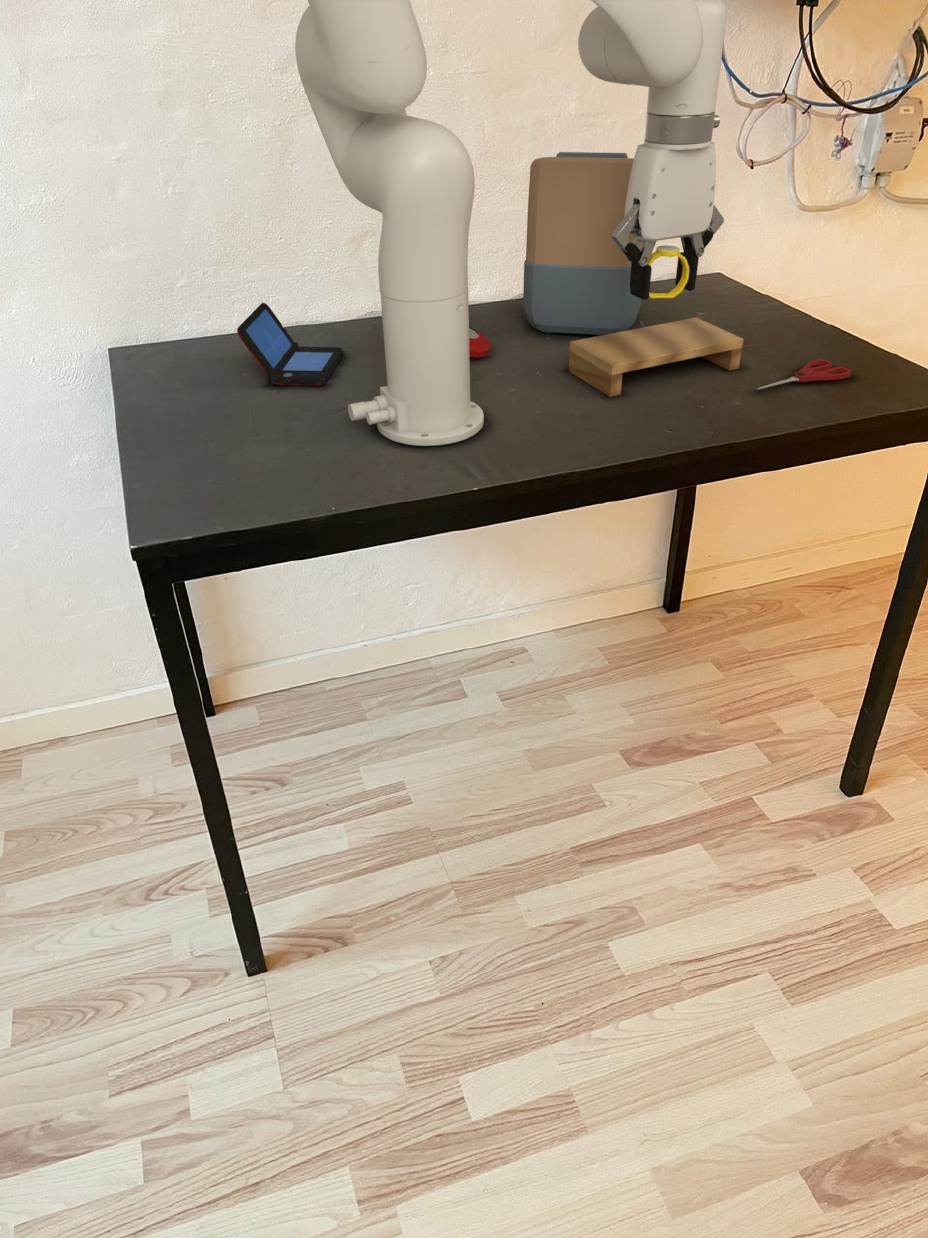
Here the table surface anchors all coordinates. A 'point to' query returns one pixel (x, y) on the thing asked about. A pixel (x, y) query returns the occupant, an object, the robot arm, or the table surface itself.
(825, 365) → the scissors
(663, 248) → the watch
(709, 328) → the desk stand
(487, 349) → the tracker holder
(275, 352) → the handheld game console
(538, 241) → the brown blue rounded box
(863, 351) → the table surface
